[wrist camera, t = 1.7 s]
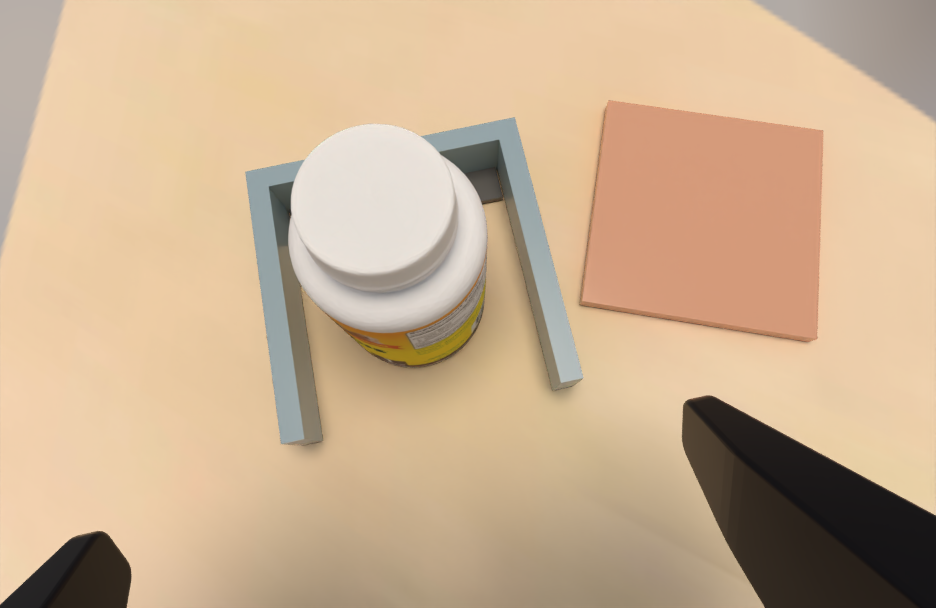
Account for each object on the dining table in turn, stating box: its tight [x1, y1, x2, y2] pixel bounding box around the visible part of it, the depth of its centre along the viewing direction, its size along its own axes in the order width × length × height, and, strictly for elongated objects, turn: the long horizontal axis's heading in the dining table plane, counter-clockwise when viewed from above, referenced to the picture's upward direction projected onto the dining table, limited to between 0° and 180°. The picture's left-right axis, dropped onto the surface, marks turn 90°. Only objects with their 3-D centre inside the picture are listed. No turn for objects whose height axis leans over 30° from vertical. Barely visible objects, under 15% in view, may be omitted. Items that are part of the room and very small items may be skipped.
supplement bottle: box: [288, 124, 488, 367], centre depth 19 cm, size 6×6×10 cm
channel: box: [245, 117, 583, 445], centre depth 23 cm, size 10×11×2 cm
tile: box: [580, 100, 823, 342], centre depth 24 cm, size 9×9×1 cm
